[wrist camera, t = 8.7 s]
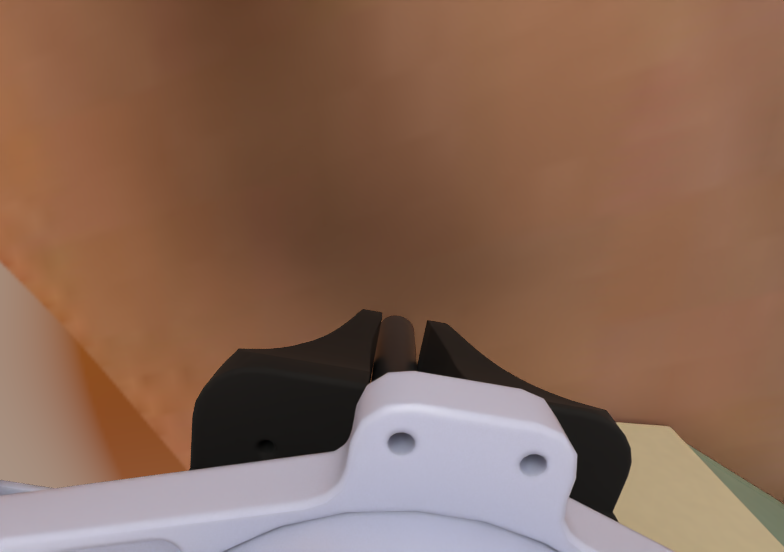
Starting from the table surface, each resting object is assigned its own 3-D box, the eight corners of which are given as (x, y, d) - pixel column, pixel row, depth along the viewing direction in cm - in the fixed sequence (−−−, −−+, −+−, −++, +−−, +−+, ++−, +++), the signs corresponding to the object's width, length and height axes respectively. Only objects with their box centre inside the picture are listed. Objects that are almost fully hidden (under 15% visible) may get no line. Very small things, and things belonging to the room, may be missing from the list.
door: (351, 287, 19) (298, 452, 9) (706, 316, 19) (1043, 509, 9) (345, 414, 21) (295, 664, 11) (665, 439, 21) (905, 708, 11)
